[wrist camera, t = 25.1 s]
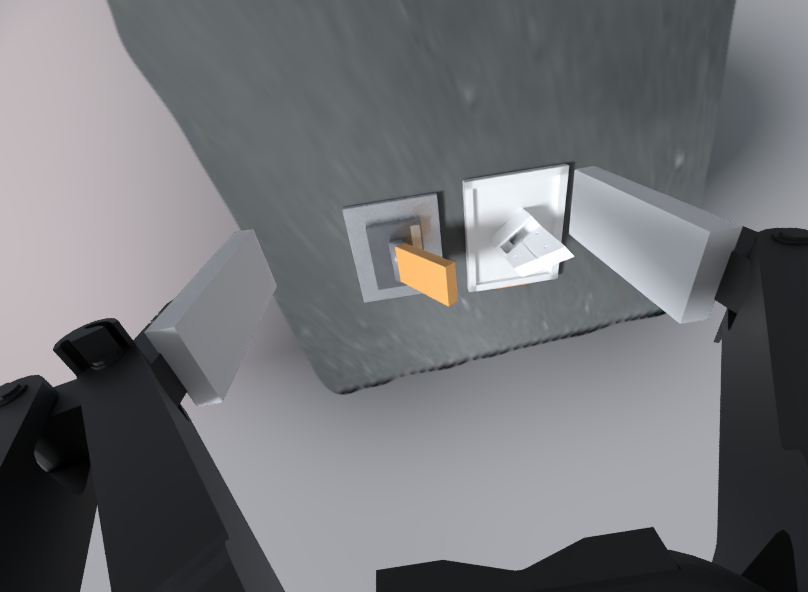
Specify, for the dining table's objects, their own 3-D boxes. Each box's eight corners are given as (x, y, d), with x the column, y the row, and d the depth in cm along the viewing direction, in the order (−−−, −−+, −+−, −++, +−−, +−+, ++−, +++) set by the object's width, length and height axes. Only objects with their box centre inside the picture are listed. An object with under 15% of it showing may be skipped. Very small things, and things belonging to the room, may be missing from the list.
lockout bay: (462, 179, 44) (464, 182, 43) (564, 163, 44) (569, 165, 43) (467, 289, 53) (469, 293, 52) (553, 275, 53) (557, 279, 52)
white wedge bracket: (574, 207, 44) (574, 256, 39) (507, 240, 51) (500, 285, 46) (558, 187, 43) (556, 236, 38) (491, 224, 50) (482, 269, 45)
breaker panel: (342, 207, 45) (341, 213, 43) (435, 192, 45) (438, 197, 43) (364, 298, 52) (364, 308, 50) (444, 286, 52) (447, 294, 50)
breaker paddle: (386, 243, 44) (443, 267, 37) (397, 238, 45) (456, 260, 38) (392, 278, 47) (447, 308, 39) (402, 273, 48) (459, 301, 40)
